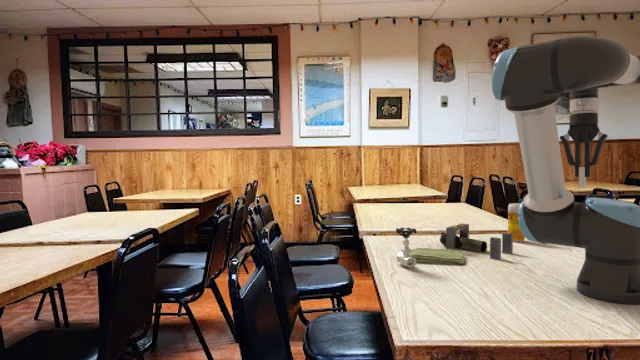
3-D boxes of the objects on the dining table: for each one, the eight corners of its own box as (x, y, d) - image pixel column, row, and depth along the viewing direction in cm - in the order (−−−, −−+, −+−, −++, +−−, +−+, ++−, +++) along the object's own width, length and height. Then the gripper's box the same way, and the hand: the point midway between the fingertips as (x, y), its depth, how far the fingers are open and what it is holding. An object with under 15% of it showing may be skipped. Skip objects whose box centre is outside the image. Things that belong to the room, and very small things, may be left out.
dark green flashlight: (487, 252, 147) (487, 236, 147) (478, 255, 143) (478, 239, 142) (444, 244, 160) (444, 230, 160) (434, 247, 156) (434, 232, 156)
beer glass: (504, 240, 165) (504, 203, 164) (515, 238, 167) (515, 202, 166) (517, 243, 159) (517, 205, 158) (528, 241, 162) (528, 204, 161)
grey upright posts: (499, 259, 135) (499, 232, 134) (446, 251, 148) (446, 226, 148) (512, 253, 143) (512, 227, 143) (461, 245, 157) (461, 222, 156)
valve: (401, 270, 125) (401, 231, 124) (392, 264, 131) (391, 228, 130) (420, 268, 127) (420, 230, 126) (410, 263, 133) (410, 226, 132)
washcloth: (465, 267, 128) (465, 257, 128) (409, 264, 133) (408, 254, 133) (462, 257, 141) (462, 247, 141) (410, 254, 146) (410, 245, 146)
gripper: (557, 114, 130) (556, 187, 131) (606, 110, 121) (604, 189, 122) (563, 115, 135) (562, 186, 136) (610, 112, 126) (609, 187, 127)
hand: (582, 187), depth 129 cm, fingers closed
